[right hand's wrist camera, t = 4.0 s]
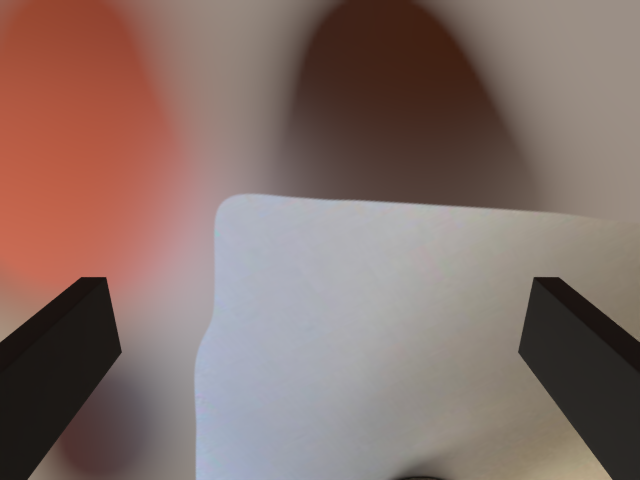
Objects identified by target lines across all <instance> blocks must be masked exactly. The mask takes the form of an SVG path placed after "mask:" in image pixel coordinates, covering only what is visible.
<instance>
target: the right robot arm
mask: <svg viewBox="0 0 640 480" xmlns="http://www.w3.org/2000/svg"><path fill="white" fill-rule="evenodd" d="M121 353H122V351H121V346H120V341H119V337H118V332H117V327H116V322H115V317H114V312H113V308H112V303H111V298H110V293H109V289H108V284H107V279H106V277H81V278H80V279H78V280H77V281H76V282H75V283H73V284H72V285H71V286H70V287H68V288H67V289H66V290H65V291H64V292H62V293H61V294H60V295H59V296H57V297H56V298H55V299H54V300H52V301H51V302H50V303H49V304H47V305H46V306H45V307H44V308H42V309H41V310H40V311H39V312H37V313H36V314H35V315H34V316H32V317H31V318H30V319H29V320H27V321H26V322H25V323H24V324H23V325H21V326H20V327H19V328H18V329H16V330H15V331H14V332H13V333H11V334H10V335H9V336H8V337H6V338H5V339H4V340H3V341H1V342H0V480H28V478H29V477H30V475H31V474H32V473H33V471H34V470H35V469H36V467H37V466H38V465H39V463H40V462H41V461H42V459H43V458H44V457H45V455H46V454H47V452H48V451H49V450H50V448H51V447H52V446H53V444H54V443H55V442H56V440H57V439H58V438H59V436H60V435H61V434H62V432H63V431H64V430H65V428H66V427H67V425H68V424H69V423H70V422H71V420H72V419H73V417H74V416H75V415H76V413H77V412H78V411H79V409H80V408H81V407H82V405H83V404H84V403H85V401H86V400H87V399H88V397H89V396H90V395H91V393H92V392H93V390H94V389H95V388H96V386H97V385H98V384H99V382H100V381H101V380H102V378H103V377H104V376H105V374H106V373H107V371H108V370H109V369H110V368H111V366H112V365H113V363H114V362H115V361H116V359H117V358H118V357H119V355H120V354H121ZM518 353H519V354H520V355H521V357H522V358H523V359H524V361H525V362H526V364H527V365H528V366H529V368H530V369H531V370H532V372H533V373H534V374H535V376H536V377H537V378H538V380H539V381H540V382H541V384H542V385H543V386H544V388H545V389H546V390H547V392H548V393H549V395H550V396H551V397H552V399H553V400H554V401H555V403H556V404H557V405H558V407H559V408H560V409H561V411H562V412H563V413H564V415H565V416H566V417H567V419H568V420H569V422H570V423H571V424H572V426H573V427H574V428H575V430H576V431H577V432H578V434H579V435H580V436H581V438H582V439H583V440H584V442H585V443H586V444H587V446H588V447H589V448H590V450H591V451H592V453H593V454H594V455H595V457H596V458H597V459H598V461H599V462H600V463H601V465H602V466H603V467H604V469H605V470H606V471H607V473H608V474H609V475H610V477H611V478H612V480H640V342H639V341H637V340H636V339H635V338H634V337H632V336H631V335H630V334H629V333H627V332H626V331H625V330H624V329H622V328H621V327H620V326H619V325H617V324H616V323H615V322H614V321H613V320H611V319H610V318H609V317H608V316H606V315H605V314H604V313H603V312H601V311H600V310H599V309H598V308H596V307H595V306H594V305H593V304H591V303H590V302H589V301H588V300H586V299H585V298H584V297H583V296H581V295H580V294H579V293H578V292H576V291H575V290H574V289H573V288H572V287H570V286H569V285H568V284H567V283H565V282H564V281H563V280H562V279H560V278H559V277H534V279H533V284H532V288H531V293H530V298H529V303H528V308H527V312H526V317H525V322H524V327H523V332H522V336H521V341H520V346H519V351H518ZM405 480H438V479H432V478H410V479H405Z"/></svg>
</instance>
